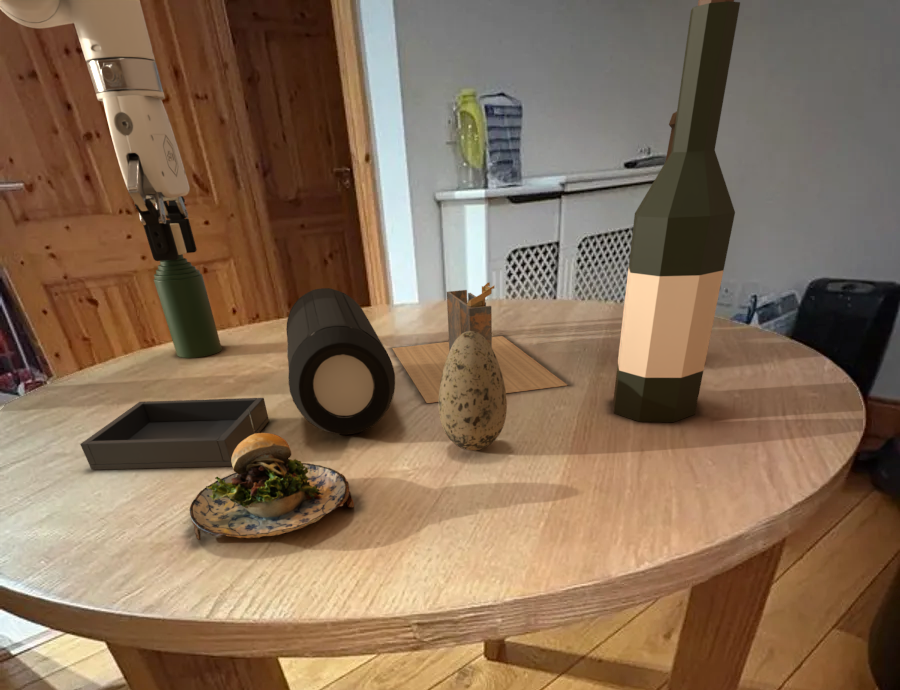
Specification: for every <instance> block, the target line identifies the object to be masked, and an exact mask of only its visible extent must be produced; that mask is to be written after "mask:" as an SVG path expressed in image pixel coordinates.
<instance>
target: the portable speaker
mask: <svg viewBox="0 0 900 690" xmlns="http://www.w3.org/2000/svg"><path fill="white" fill-rule="evenodd" d="M285 329H286V338H287V341H286V342H287V351H286V354H287V356H286V357H287V363H288V375H287V377H288V388H289V389H288V390H289V392H290V396H291V399H292V401H293V403H294V405H295V407H296V409H297V410H298V411H299V413H300V414H301V415H302V417H303V418H304V419H306V421H307V422H309V423H310V424H311V425H313V426H314V427H316V428H318V429H320V430H322V431H325V432H327V433H330V434H334V435H335V434H336V435H339V436H345V435H354V434H355V435H356V434H360V433H362V432H363V431H365V430H368V429H370V428H371V427H373V426H374V425H376V424H377V423H378V422H379V421H380V420H381V419H382V418H383V417H384V416H385V414H386V413H387V411H388V409H390V406H391V403H392V402H393V399H394V396H395V395H394V394H395V390H396V389H395V388H396V376H395V375H396V374H395V369H394V365H393V362H392V360H391V357H390V355H389V353H388V352H387V350H386V348H385V346H384V344H383V343H382V341H381V339H380V338H379V336H378V334H377V332H376V331H375V328H374V327H373V325H372V323H371V322H370V320H369V318H368V317H367V315H366V313H365V312H364V310H363V309H362V307H361V305H360V304H359V303H358V302H357V301H356V300H355V299H354V298H352V297H351V296H350V295H348V294H347V293H345V292H342V291H340V290H337V289H334V288H330V287H326V288H325V287H323V288H322V287H321V288H315V289H312V290H310V291H308V292H306V293H305V294H303V295H302V296H300V297H299V298H298V299H297V300H296V301H295V302H294V304H293V305H292V307H291V308H290V311H289V313H288V316H287V320H286V328H285Z"/></svg>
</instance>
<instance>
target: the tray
mask: <svg viewBox="0 0 900 690" xmlns="http://www.w3.org/2000/svg"><path fill="white" fill-rule="evenodd" d="M249 410H250V413H249ZM250 414H251V417H252V421H253V426H254V429H255V433H262V430H264V428H265V427H266V426H267V424H268V423H269V422H270V417H269V415H268V414H269V413H268V411H267V405H266V401H265V398H264V397H239V398H211V399H210V398H209V399H207V398H206V399H183V400H182V399H179V400H178V399H177V400H151V401H138V402H137V403H136V404H134V405H132V407H130V408H129V409H127V410H125V411H124V412H123V413H122V414H120V415H119V416H117V417H116V418H115V419H113V420H112V421H110V422H109V423H107V424H106V425H105V426H103V427H102V428H100V429H99V430H98V431H96V432H95V433H94V434H92V435H91V436H89V437H88V438H87V439H85V440H84V441H82V442H80V443H79V445H80V447H81V449H82V451H83V454H84V456H85V459H86V461H87V463H88V465H89V467H90V470H93V471H94V470H95V471H96V470H100V471H101V470H134V469H135V470H136V469H137V470H139V469H174V468H175V469H176V468H177V469H178V468H213V467H214V468H215V467H220V468H221V467H233V466H232V462H231V458H232V455H233V452H234V450H235V448H236V447H237V446H238V444H239V443H240V442H242V441H243V440H244V439H246V438H247V437H249V436H250V435H253V434H254V429H253V427H252V423H251V418H250Z"/></svg>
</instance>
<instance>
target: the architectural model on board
mask: <svg viewBox="0 0 900 690" xmlns="http://www.w3.org/2000/svg"><path fill="white" fill-rule="evenodd" d="M493 289H495V285H492V286H491V282H487V283H485V284H484V285H481V293H480V294H478V295H477V296H476V295H474V294H473V293H472V292H468V290H467V289H460V290H450V291H446V308H447V328H448V329H447V330H448V341H444V342H443V341H442V342H436V343H435V342H433V343H425V344H416V345H409V346H399V347H392V348H391V349H392V351H393V352H394V354H395V355H396V357H397V359H398V360H399V362H400V363H401V365H402V366H403V368H404V370H405V371H406V372H407V374H408V376H409V377H410V379H411V381H412V382H413V384H414V386H415V387H416V389H417V390H418V391H419V393H420V395H421V397H422V398H423V400H424V402H426V404H432V403H439V389H440V383H441V378H442V373H443V369H444V366H445V362H446V359H447V356H448V354H449V351H450V349H451V347H452V345H453V343H454V342H455V340H456V339H457V338H458V337H459V336H460V335H461V334H462V333H464V332H467V331H475V332H478V333H480V334H481V335H482V336H483V337H484V338H485V339H486V340H487V341H488V343H489V344H490V346H491V348H492V350H493V352H494V353H495V355H496V358H497V360H498V363H499V366H500V369H501V373H502V376H503V380H504V385H505V390H506V394H510V393H511V394H512V393H518V392H519V393H520V392H526V391H534V390H542V389H543V390H544V389H550V388H558V387H565V386H568V383H566V382H564V381H563V380H562V379H560V378H559V377H558V376H556V375H555V374H554V373H552V372H551V371H549V370H548V369H547V368H546V367H544V366H543V365H542V364H540V363H539V362H537V361H536V360H535V359H534V358H532V357H531V356H530V355H528V354H527V353H526V352H525V351H523V350H522V349H521V348H519V347H518V346H516V345H515V344H514V343H512V342H511V341H510V340H508V339H507V338H506V337H504V336H503V335H499V336H498V335H495V336H493V335H492V333H493V332H492V329H493V328H492V323H493V322H492V317H493V316H492V305H487V302H486V298H487V297H488V296H490V295H491V294H492V290H493Z"/></svg>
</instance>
